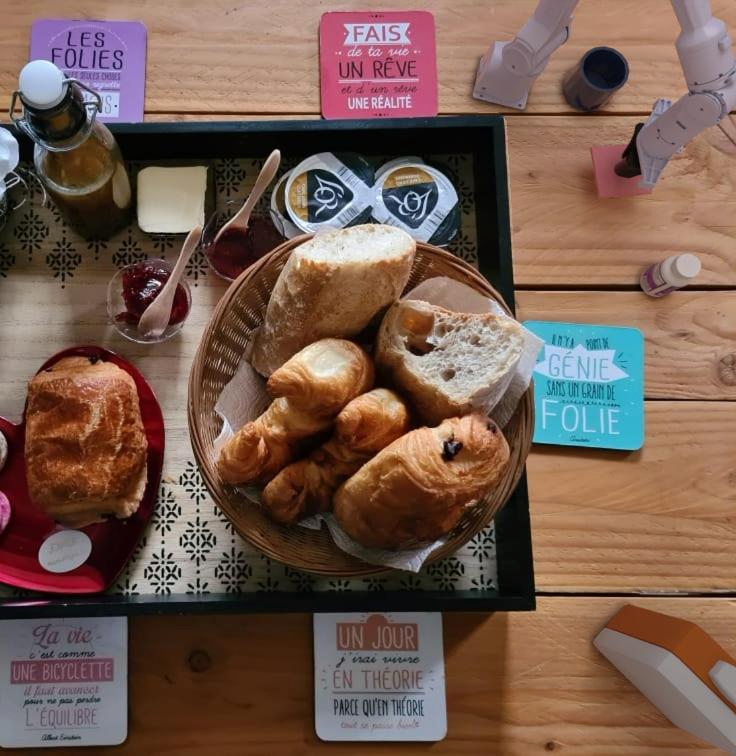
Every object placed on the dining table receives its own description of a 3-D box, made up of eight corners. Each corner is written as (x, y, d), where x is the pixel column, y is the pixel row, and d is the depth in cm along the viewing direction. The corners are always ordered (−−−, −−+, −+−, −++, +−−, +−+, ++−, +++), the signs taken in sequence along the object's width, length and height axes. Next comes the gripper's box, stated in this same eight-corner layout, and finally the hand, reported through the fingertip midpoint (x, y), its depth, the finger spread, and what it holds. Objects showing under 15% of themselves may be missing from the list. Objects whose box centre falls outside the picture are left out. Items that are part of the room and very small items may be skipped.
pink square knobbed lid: (598, 198, 124) (611, 188, 119) (589, 148, 125) (602, 136, 121) (650, 194, 124) (665, 184, 120) (641, 144, 125) (655, 132, 121)
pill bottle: (673, 275, 126) (710, 257, 116) (663, 302, 125) (699, 287, 115) (644, 262, 126) (679, 243, 117) (633, 289, 125) (667, 273, 116)
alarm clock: (711, 685, 116) (815, 727, 95) (675, 727, 115) (773, 778, 94) (622, 600, 118) (706, 623, 97) (587, 640, 117) (664, 672, 96)
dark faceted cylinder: (558, 105, 130) (575, 85, 124) (567, 63, 131) (585, 41, 125) (604, 116, 130) (624, 97, 124) (613, 74, 131) (633, 53, 125)
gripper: (694, 178, 108) (641, 212, 121) (709, 90, 110) (656, 133, 123) (647, 166, 108) (600, 201, 121) (663, 78, 110) (615, 123, 124)
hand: (625, 166), depth 122 cm, fingers closed on pink square knobbed lid, 2 cm apart
